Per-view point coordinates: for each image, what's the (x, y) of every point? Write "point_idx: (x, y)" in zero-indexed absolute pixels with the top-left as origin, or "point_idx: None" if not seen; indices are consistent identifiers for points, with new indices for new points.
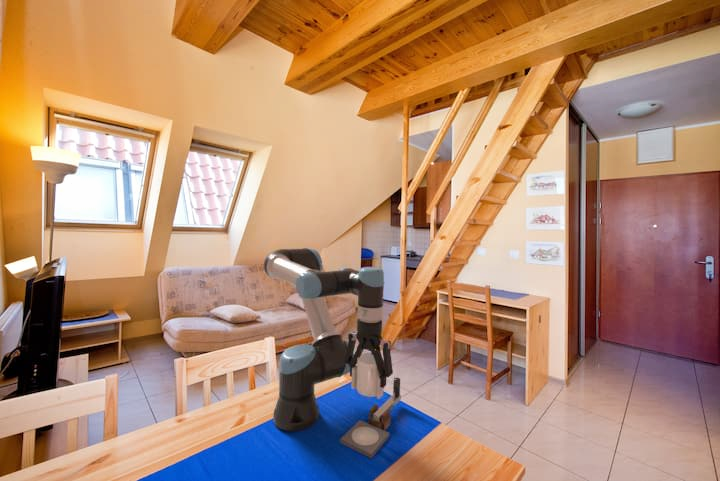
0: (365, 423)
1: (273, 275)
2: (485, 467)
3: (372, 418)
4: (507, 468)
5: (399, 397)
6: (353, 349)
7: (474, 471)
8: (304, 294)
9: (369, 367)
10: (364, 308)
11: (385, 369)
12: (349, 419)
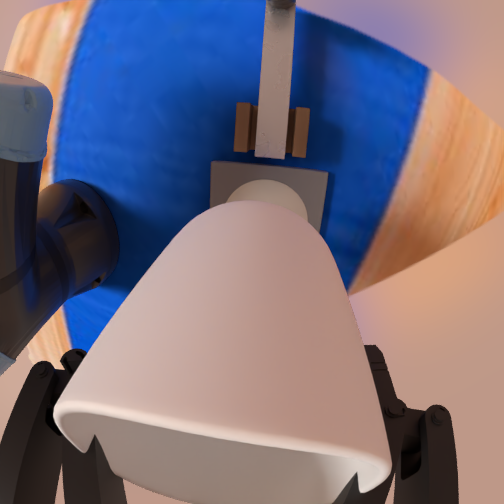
0: (236, 167)
1: None
2: None
3: (250, 146)
4: None
5: (295, 1)
6: (30, 464)
7: (501, 205)
8: None
9: (271, 489)
10: None
11: (399, 480)
12: (175, 160)
